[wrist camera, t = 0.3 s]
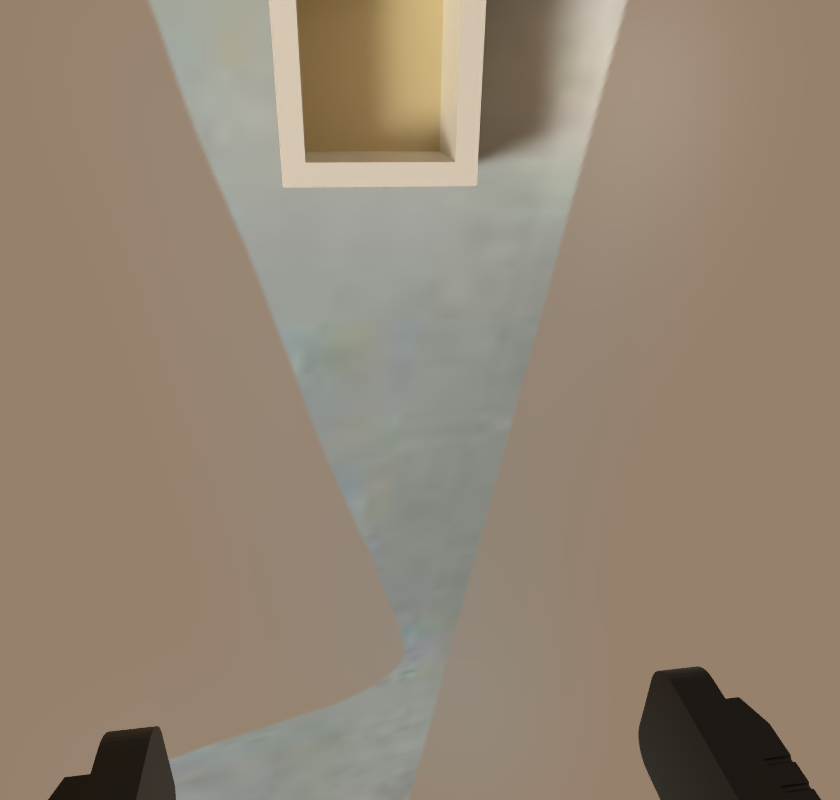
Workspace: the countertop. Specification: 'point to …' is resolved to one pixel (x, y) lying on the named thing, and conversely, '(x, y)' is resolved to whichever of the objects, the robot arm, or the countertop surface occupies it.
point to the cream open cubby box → (378, 91)
